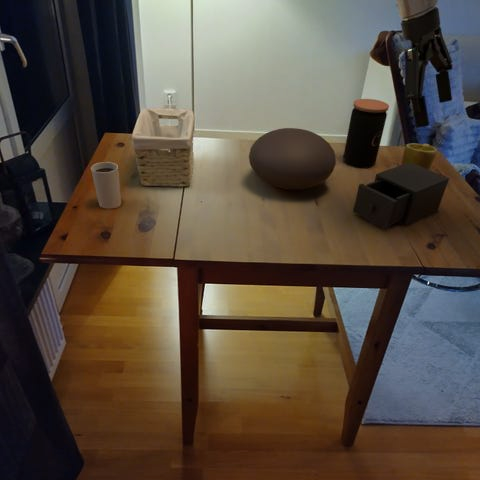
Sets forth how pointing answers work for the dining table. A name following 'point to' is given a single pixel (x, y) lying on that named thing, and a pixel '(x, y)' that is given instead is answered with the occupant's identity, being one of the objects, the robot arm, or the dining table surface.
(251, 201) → the dining table surface
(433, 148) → the mug
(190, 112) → the basket
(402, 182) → the cabinet
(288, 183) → the flattened ellipsoid
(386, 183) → the drawer
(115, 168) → the white coffee cup
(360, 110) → the coffee jar
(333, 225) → the dining table surface
